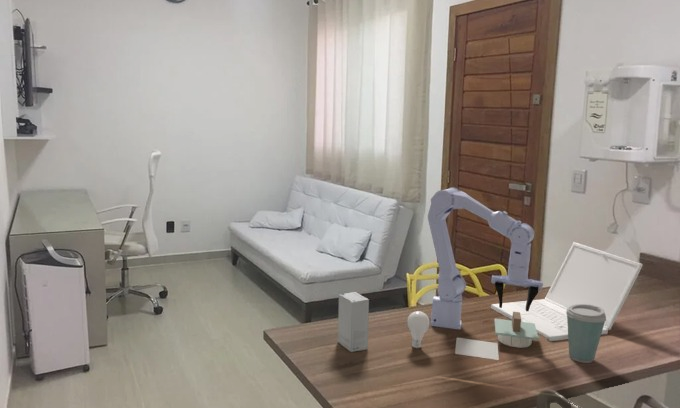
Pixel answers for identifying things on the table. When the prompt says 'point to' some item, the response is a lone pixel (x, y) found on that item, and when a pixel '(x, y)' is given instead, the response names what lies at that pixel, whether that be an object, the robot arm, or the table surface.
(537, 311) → the laptop
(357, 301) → the skincare box
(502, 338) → the bowl
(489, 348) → the mat
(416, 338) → the lightbulb
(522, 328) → the lid
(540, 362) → the table surface
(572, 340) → the disposable coffee cup
